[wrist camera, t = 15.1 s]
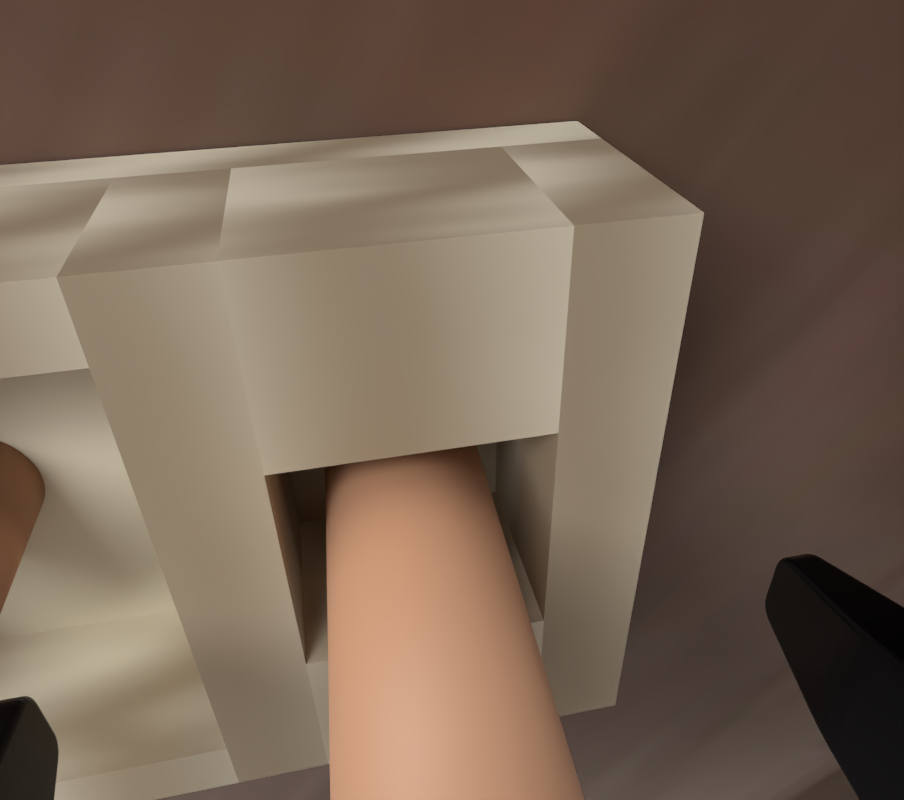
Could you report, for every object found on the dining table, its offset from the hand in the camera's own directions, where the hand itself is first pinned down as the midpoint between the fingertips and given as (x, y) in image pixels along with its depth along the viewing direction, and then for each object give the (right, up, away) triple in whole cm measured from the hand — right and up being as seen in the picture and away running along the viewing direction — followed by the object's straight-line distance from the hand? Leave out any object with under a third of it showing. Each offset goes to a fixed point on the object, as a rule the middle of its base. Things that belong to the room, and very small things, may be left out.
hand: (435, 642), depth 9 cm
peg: (-1, +2, +3) cm, 4 cm away
